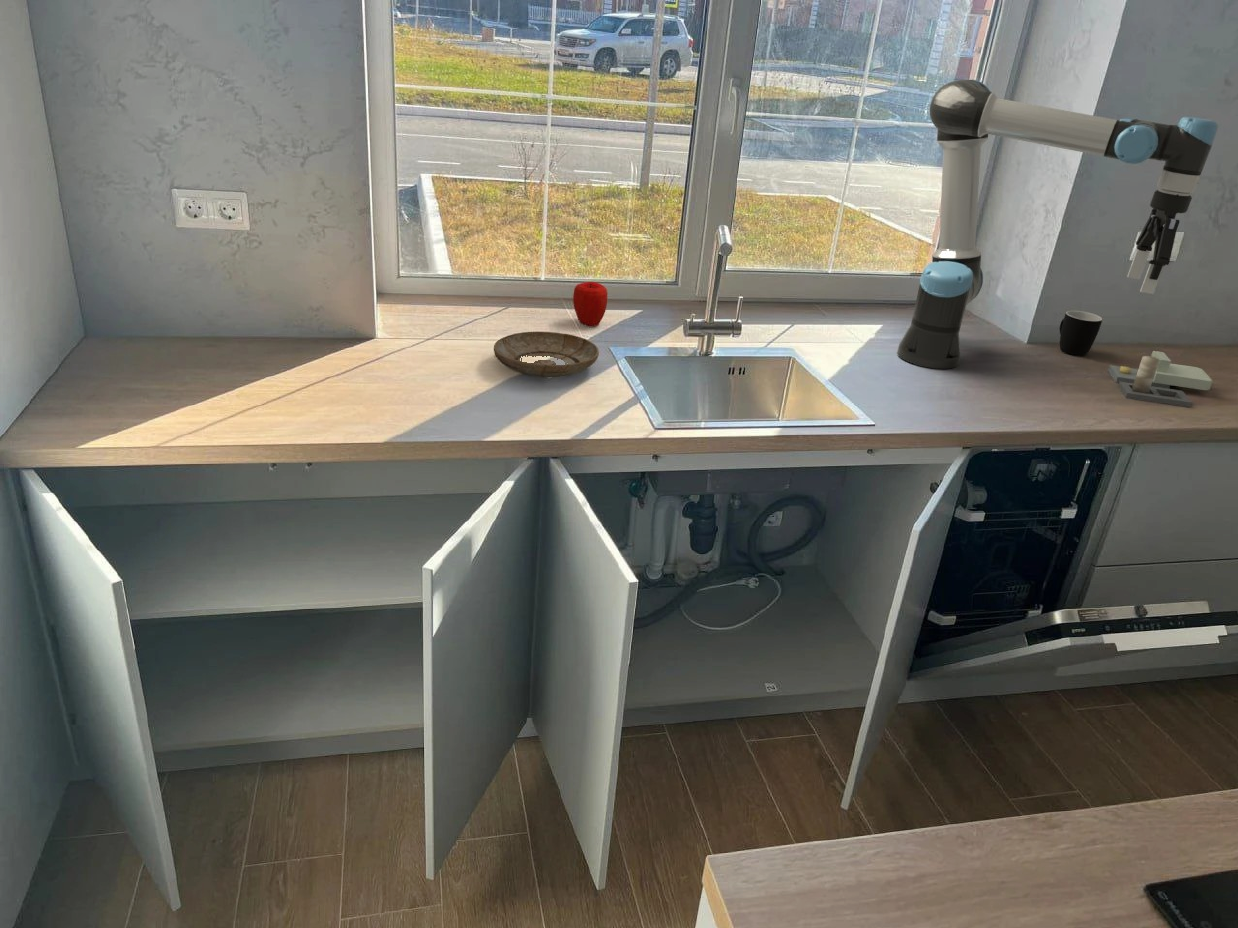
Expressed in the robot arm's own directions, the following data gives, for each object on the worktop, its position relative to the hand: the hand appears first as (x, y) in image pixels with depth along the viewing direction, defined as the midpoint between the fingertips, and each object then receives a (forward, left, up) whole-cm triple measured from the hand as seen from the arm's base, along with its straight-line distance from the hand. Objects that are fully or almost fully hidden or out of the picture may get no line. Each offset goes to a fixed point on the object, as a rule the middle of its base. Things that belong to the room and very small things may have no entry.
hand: (1139, 285), depth 213 cm
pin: (+6, -5, -25) cm, 26 cm away
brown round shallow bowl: (-128, -50, -25) cm, 139 cm away
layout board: (+8, +6, -25) cm, 27 cm away
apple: (-128, -16, -25) cm, 131 cm away
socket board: (+9, -5, -25) cm, 27 cm away
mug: (-5, +24, -25) cm, 35 cm away
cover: (+17, +6, -23) cm, 29 cm away
